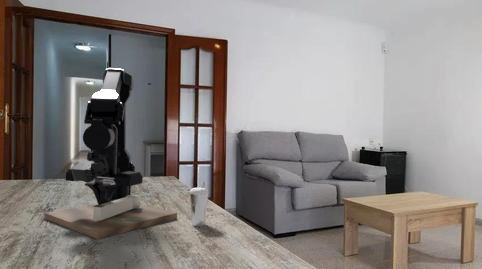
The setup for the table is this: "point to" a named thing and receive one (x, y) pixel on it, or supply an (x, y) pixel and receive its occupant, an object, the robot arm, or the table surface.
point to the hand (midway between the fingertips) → (102, 211)
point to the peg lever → (116, 207)
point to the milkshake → (198, 205)
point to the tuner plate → (108, 220)
